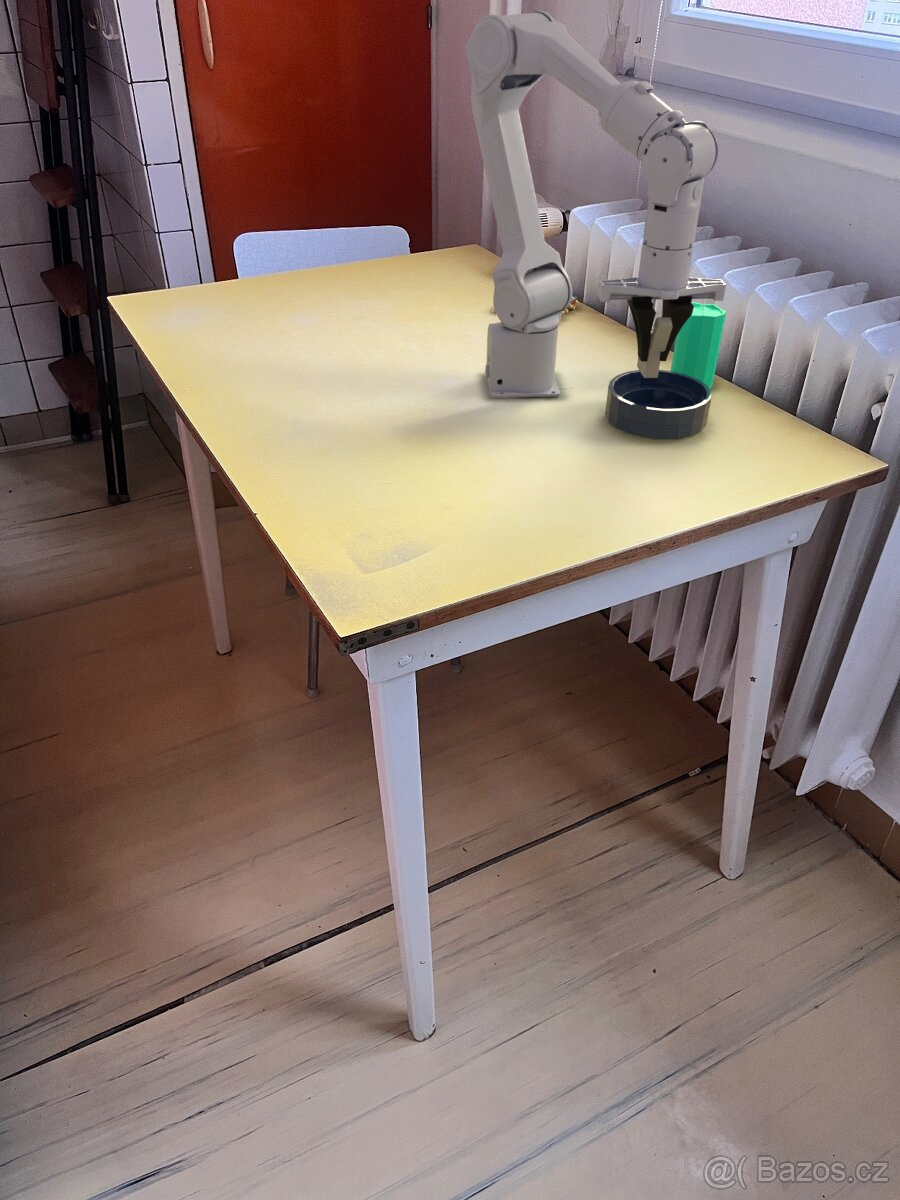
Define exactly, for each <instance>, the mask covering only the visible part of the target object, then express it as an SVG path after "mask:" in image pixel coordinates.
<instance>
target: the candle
mask: <svg viewBox="0 0 900 1200" xmlns="http://www.w3.org/2000/svg"><path fill="white" fill-rule="evenodd" d="M703 300H704V301H703V303H700V302H694V301H692V302H691V303H692V304H693V305H694V309H693V313H692V315H691V316H690V317H689V319H688V320H687V321H686V323H685V324H684V325H683V327H682V328H681V330H680V331H679V333H678V335H677V337H676V338H675V340H674V346H673V347H674V348H673V354H672V360H671V365H670V371H673V372H677V373H682V374H686V375H688V376H691V377H694V378H696V379H698V380H700V381H702V382H703V383H705V384H706V385H707V386H708V387H709V389H710V390H711V388H712V387H713V386H714V385H713V384H714V380H715V374H716V370H717V364H718V359H719V353H720V348H721V342H722V337H723V332H724V326H725V321H726V315H727V310H724V309H722V308H721V307H719V306H718V305H716V304H715V303H706V300H707V299H703Z"/></svg>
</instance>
